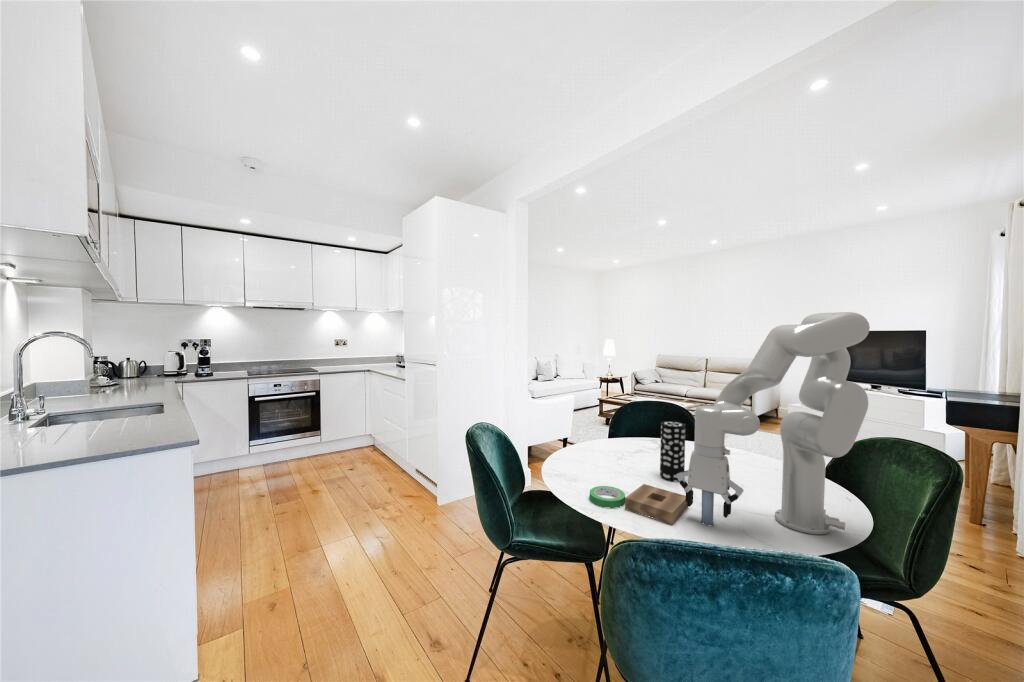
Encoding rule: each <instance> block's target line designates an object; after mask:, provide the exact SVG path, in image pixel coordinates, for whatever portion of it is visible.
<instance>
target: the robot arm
mask: <svg viewBox="0 0 1024 682" xmlns="http://www.w3.org/2000/svg"><path fill="white" fill-rule="evenodd" d="M869 333H870V323H869V321H868V319H867V318H866V317H865V316H863V315H862V314H860V313H857V312H853V311H851V312H849V311H848V312H847V311H845V312H844V311H843V312H822V313H821V312H820V313H813V314H810V315H806V317H804V318H803V319H802V321H801V324H781V325H777V326H775V327H773V328H772V329H771V330H770V331H769V332H768V334H767V336H766V337H765V339H764V341H763V342H762V344H761V345H760V347H759V349H758V351H757V352H756V354H755V355H754V356H753V359H752V360H751V362H750V364H749V365H748V367H747V368H746V369H745V370H744V371H742V372H741V373H739V374H738V375H736V377H734V379H732V380H731V381H730V382H728V383H727V384H726V386H725V387H723V388H722V390H721V392H720V393H719V395H718V396H717V398H716V399H715V402H714V403H713V405H706V404H705V405H704V404H703V405H699V406H697V407H696V408H695V411H694V450H692V452H691V454H690V459H689V464H688V465H689V466H688V470H684V471H683V472H680V473H677V474H676V476H677V478H678V480H679V482H678V483H679V485H680V486H681V488H682V489H683V491H684V492H685V496H686V502H687V506H688V508H689V507H691V506H692V505H693V504H694V490H693V488H694V489H698V490H701V491H702V490H704V491H708V492H712V493H714V495H720V496H721V497H722V499H723V500H724V502H723V510H722V511H723V512H722V513H723V516H722V517H723V518H725V519H726V518H728V516H729V515H731V513H732V503H734V502H735V501H736V500H738V499H739V498H740V497H741V495H742V494H743V493H744V489H743V487H741V486H740V485H738V484H737V483H735V482H734V481H733V480H731V475H730V474H731V473H730V465H729V459H728V457H727V456H730V455H731V449H727V448H726V446H725V441H726V440H725V439H726V438H725V437H726V434H729V435H734V436H743V437H744V436H751V435H755V433H756V432H758V430H759V428H760V427H761V421H760V419H759V417H758V414H756V413H755V412H753V411H752V410H750V409H748V408H746V407H742V406H743V405H744V403H745V402H746V401H747V400H748V399H749V398H750V397H752V395H754V394H756V393H759V392H760V391H763V390H768V389H770V388H773V387H776V386H778V385H779V384H781V382H782V381H783V379H784V377H785V375H786V374H787V372H788V371H789V369H790V368H791V366H792V364H793V362H794V361H795V360H796V358H797V357H804V358H811V360H810V364H809V365H808V369H807V371H806V375H804V379H803V381H802V385H800V390H799V393H798V398H799V401H800V402H801V404H802V405H804V406H805V407H806V408H809V409H811V410H815V411H819V412H821V413H823V414H822V416H820V415H816V414H813V413H809V412H805V411H792V412H789V413H787V414H785V416H783V417H782V419H781V420H780V424H779V433H780V438H781V443H782V481H781V508H780V509H777V510H775V512H774V518H775V520H776V521H777V522H779V523H780V524H781V525H783V526H784V527H787V528H788V529H791V530H794V531H796V532H797V531H798V532H801V533H805V534H810V535H827V534H828V533H830V532H831V529H832V528H831V527H833V528H836V529H839V530H843V531H846V522H843V521H841V520H840V518H838V517H833V516H829V514H826V512H827V510H826V509H825V490H826V488H825V486H826V484H825V483H826V460H825V457H827V458H835V459H837V458H841V457H844V456H846V455H847V454H848V453H849V451H850V450H851V449H852V448H853V446H854V444H855V441H856V440H857V437H858V434H859V432H860V430H861V427H862V424H863V423H864V420H865V417H866V415H867V413H868V410H869V409H868V408H869V396H868V394H867V392H866V390H865V388H863V387H862V386H861V385H859V384H857V383H856V382H852V381H849V380H847V378H848V375H849V371H850V368H851V356H850V353H849V351H848V349H847V348H849V347H852V346H855V345H858V344H859V343H861V342H862V341H864V340H865V339H866V338H867V336H868V335H869ZM683 477H684V478H683ZM685 477H687V481H686V480H685ZM730 488H731V489H732V490H734V492H735V493H733V494H730Z"/></svg>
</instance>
